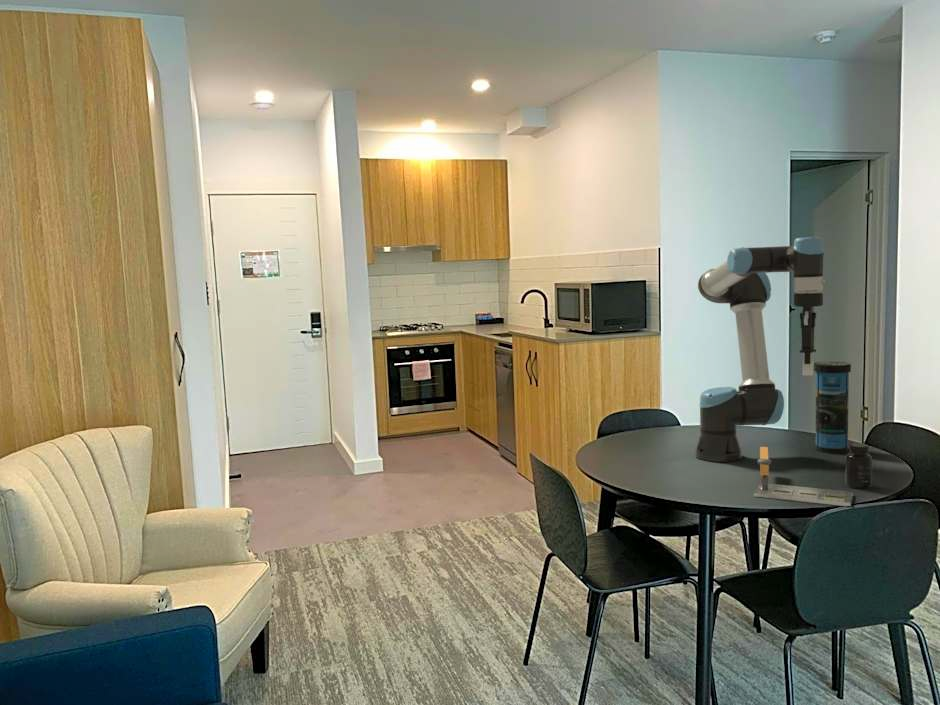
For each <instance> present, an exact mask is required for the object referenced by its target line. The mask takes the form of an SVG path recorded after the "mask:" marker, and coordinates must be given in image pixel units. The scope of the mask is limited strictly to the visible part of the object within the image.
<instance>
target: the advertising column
mask: <svg viewBox="0 0 940 705" xmlns="http://www.w3.org/2000/svg"><path fill="white" fill-rule="evenodd" d="M851 366H852V363H850V362H847V361H817V362H813V372H815V446H814V447H815V450H816V451H817V450H818V451H817V452H820V451H821V452H820V453H825V452H826V453H825V454H844V453H848V452H849V451H848V450H849V391H850V390H849V388H850V387H849V386H850V384H849V380H850V379H849V378H850V375H849V374H850V373H851V370H852V367H851Z"/></svg>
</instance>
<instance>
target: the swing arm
mask: <svg viewBox="0 0 940 705" xmlns="http://www.w3.org/2000/svg"><path fill="white" fill-rule="evenodd" d="M757 464H758V465H759V471H760V472H759V473H760V474H759V475H760V476H761V475H768V476H770V474H769V473H770V465H771V464H772V460H771V459H769V448H768V446H759V458H758V459H757Z"/></svg>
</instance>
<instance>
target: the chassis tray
mask: <svg viewBox="0 0 940 705" xmlns="http://www.w3.org/2000/svg"><path fill="white" fill-rule="evenodd" d="M853 493H854V492H853V491H847V490H836V489H828V488H816V487H807V486H796V485H786V484H775V483H769V475H760V482H759V484H758V486H756V489H755V490H754V492H753V497H755V498H765V499H772V500H773V499H775V500H776V499H777V500H783V501H792V502H802V503H809V504H810V503H811V504H818V505H819V504H820V505H828V506H829V505H831V506H838V507H847V506H850V507H851V505H852V502H853V501H852V500H853Z"/></svg>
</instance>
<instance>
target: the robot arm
mask: <svg viewBox="0 0 940 705" xmlns="http://www.w3.org/2000/svg"><path fill="white" fill-rule="evenodd" d="M824 253H825V249H824V240H823V238H822V237H820V236H807V237H796V238H795V239H794V241H793V245H784V246H782V245H780V246H763V247H762V246H761V247H745V246H744V247H737V248H732V249H731V250H729V252H728V255H727V257H726V258H727V259H726V261H724V262H723V263H722V264H720V265H719V266H717V267H716V268H711V269H708V270H706V271H705V272H704V273H703V274H701V276H699V279H698V281H697V288H698V292H699V294H700V295H701V296H702V297H703V298H704V299H706V300H707V301H709V302H711V303H715V304H729V308H730V311H731V312H733V313H735V314H734V315H735V322H736V332H737V339H738V340H737V341H738V342H737V343H738V349H739V361H740V369H741V378H742V381H741V383H739V385H738V387H737V388H738V391H737V389H736V387H734V386H722V387H721V386H720V387H719V386H718V387H713V388H709V389H706V390H704V391H702V392H701V394H700V397H699V416H700V418H699V424H700V425H699V427H700V428H699V430H700V433H699V436H698V440H697V442H696V447H695V451H694V456H695V458H696V459H699V460H702V461H707V462H716V463H724V462H725V463H730V462H737V461H740V460H742V458H743V450H742V448H741V445H740V441H739V438H738V436H737V427H738V426H741V427H742V426H766V425H767V426H768V425H775V424H776V423H778V422H779V421H780V420H781V418H782V416H783V414H784V409H785V398H784V395H783V392H782V391H781V390H780V389H778V388H776V384H775V383H774V381H772V380H771V378H770V372H769V363H768V355H767V345H766V337H765V335H766V334H765V328H764V327H765V326H764V318H763V310H764V308H765V307H766V306H767V303H766V302H768V301H769V300H770V298H771V295H772V294H771V292H772V286H771V285H772V284H771V280H770V278H769V276H768V274H767V273H793V292H795V293H794V294H793V306H794V307H796V308H797V307H802V312H800V313H799V320H800V329H801V349H800V350H799V353H802V362H801V363H802V367H801V368H802V369H801V372H802V376H812V377H813V376H814V353H815V352H816V351H817V349H814V348H815V328H816V318H817V312H814V307H821V306H823V305H824V294H823V292H821V291H823V290H824V285H823V284H825V283H826V280H825V279H823V278H824V277H823V276H824Z"/></svg>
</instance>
